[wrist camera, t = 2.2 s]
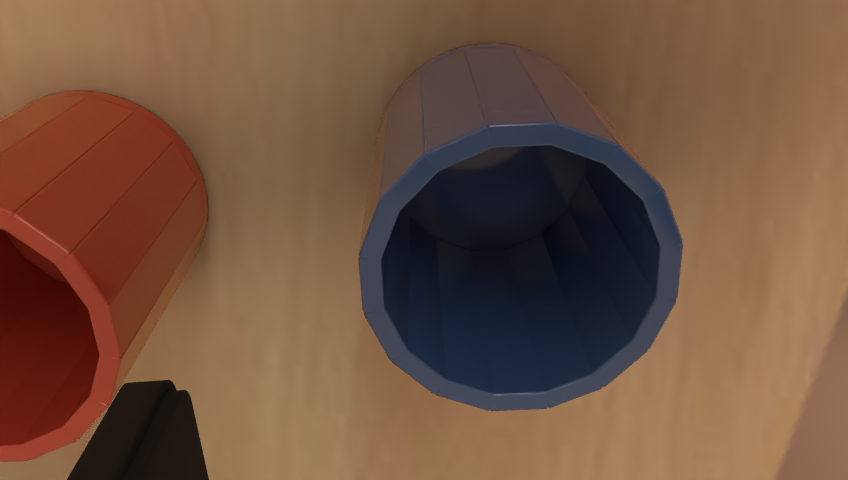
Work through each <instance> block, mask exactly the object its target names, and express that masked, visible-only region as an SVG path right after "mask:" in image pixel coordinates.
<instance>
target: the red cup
mask: <svg viewBox="0 0 848 480" xmlns="http://www.w3.org/2000/svg"><path fill="white" fill-rule="evenodd" d="M207 218H208V201H207V192H206V188H205V183H204V180H203V177H202V174H201V172H200V169H199V166H198V165H197V163H196V161H195V159H194V157H193V155H192V154H191V152H190V151H189V149H188V148H187V146H186V145H185V144H184V142H183V141H182V140H181V139H180V138H179V136H178V135H177V134H176V133H175V132H174V131H173V130H172V129H171V128H170V127H169V126H168V125H166V124H165V123H164V122H163V121H162V120H161V119H159V118H158V117H156V116H155V115H154V114H152V113H151V112H149V111H148V110H146V109H144V108H142V107H140V106H138V105H137V104H135V103H132V102H130V101H127V100H125V99H122V98H120V97H116V96H112V95H109V94H105V93H98V92H91V91H70V92H61V93H56V94H52V95H48V96H45V97H43V98H40V99H38V100H35V101H33V102H31V103H29V104H28V105H26V106H24V107H23V108H21V109H19V110H17V111H15V112H13V113H11V114H9V115H7V116H5V117H3V118H1V119H0V462H13V461H28V460H32V459H34V458H37V457H39V456H42V455H44V454H46V453H49V452H51V451H54V450H56V449H58V448H61V447H63V446H66V445H68V444H70V443H73V442H75V441H76V440H78V439H80V437H81V436H82V435H83V434H84V433H85V432H86V431H87V430H88V429H89V428H90V427H91V425H92V424H93V423H94V422H95V421H96V420H97V419H98V418H99V417H100V416H101V414H102V413H103V412H104V411H105V410H106V409H107V408H108V407H109V405H110V404H111V402H112V400H113V398H114V397H115V395H116V393H117V392H118V390H119V388H120V386H121V385H122V383H123V381H124V379H125V378H126V376H127V374H128V373H129V371H130V369H131V367H132V366H133V364H134V362H135V360H136V359H137V357H138V355H139V354H140V352H141V350H142V348H143V347H144V345H145V343H146V341H147V340H148V338H149V336H150V334H151V333H152V331H153V329H154V328H155V326H156V324H157V322H158V321H159V319H160V317H161V315H162V314H163V312H164V310H165V309H166V307H167V305H168V303H169V302H170V300H171V298H172V296H173V295H174V293H175V291H176V290H177V288H178V286H179V284H180V283H181V281H182V279H183V277H184V276H185V274H186V272H187V270H188V269H189V267H190V265H191V264H192V262H193V260H194V258H195V256H196V252H197V249H198V247H199V246H200V244H201V241H202V238H203V236H204V233H205V229H206V224H207Z"/></svg>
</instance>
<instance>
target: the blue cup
mask: <svg viewBox="0 0 848 480" xmlns="http://www.w3.org/2000/svg"><path fill="white" fill-rule="evenodd" d="M682 249H683V244H682V238H681V235H680V232H679V229H678V226H677V224H676V221H675V218H674V215H673V212H672V210H671V207H670V204H669V201H668V199H667V196H666V193H665V190H664V189H663V188H662V185H661V184H660V183H659V182H658V180H657V179H656V178H655V177H654V176H653V174H652V173H651V172H650V171H649V170H648V168H647V167H646V166H645V165H644V164H643V162H642V161H641V160H640V159H639V157H638V156H637V155H636V154H635V153H634V151H633V150H632V149H631V148H630V147H629V145H628V144H627V143H626V142H625V140H624V139H623V138H622V137H621V136H620V134H619V133H618V132H617V131H616V130H615V128H614V127H613V126H612V125H611V124H610V122H609V121H608V120H607V119H606V117H605V116H604V115H603V114H602V113H601V111H600V110H599V109H598V108H597V107H596V105H595V104H594V103H593V102H592V101H591V99H590V98H589V97H588V96H587V94H586V93H585V92H584V91H583V90H582V89H581V88H580V87H579V86H578V85H577V84H576V83H575V82H574V81H573V80H572V79H571V78H570V77H569V76H568V75H567V74H566V73H565V72H564V71H563V70H562V69H561V68H559V67H558V66H557V65H556V64H554V63H553V62H551V61H550V60H548V59H547V58H545V57H543V56H541V55H539V54H537V53H535V52H533V51H530V50H527V49H524V48H521V47H517V46H513V45H506V44H495V43H483V44H474V45H468V46H464V47H460V48H456V49H453V50H450V51H448V52H445V53H443V54H440V55H439V56H437V57H435V58H433V59H431V60H430V61H428V62H426V63H425V64H424V65H422V66H421V67H420V68H418V69H417V70H415V71H414V72H413V73H412V74H411V75H410V76H409V77H408V78H407V79H406V80H405V81H404V82H403V84H402V85H401V86H400V87H399V89H398V90H397V91H396V92H395V94H394V96H393V97H392V99H391V101H390V102H389V104H388V106H387V108H386V110H385V113H384V115H383V117H382V121H381V124H380V128H379V131H378V136H377V138H376V141H375V145H374V152H373V159H372V166H371V173H370V180H369V187H368V194H367V201H366V208H365V215H364V222H363V229H362V236H361V243H360V250H359V258H358V261H359V273H360V285H361V297H362V309H363V312H364V316H365V317H366V319H367V321H368V323H369V324H370V326H371V328H372V330H373V331H374V333H375V335H376V337H377V338H378V340H379V342H380V344H381V345H382V347H383V349H384V351H385V352H386V354H387V356H388V358H389V359H390V360H391V361H392V363H394V364H395V365H396V366H398V367H399V368H400V369H402V370H403V371H404V372H406V373H407V374H408V375H410V376H411V377H412V378H413V379H415V380H416V381H417V382H419V383H420V384H421V385H423V386H424V387H425V388H427V389H428V390H429V391H431V392H432V393H433V394H436V395H437V396H440V397H444V398H447V399H451V400H454V401H457V402H461V403H464V404H467V405H471V406H474V407H477V408H481V409H484V410H491V411H505V410H529V409H547V408H548V407H549V408H551V407H554V406H557V405H559V404H562V403H565V402H567V401H570V400H572V399H575V398H578V397H580V396H583V395H586V394H588V393H591V392H594V391H596V390H599V389H601V388H603V387H605V386H606V385H608V384H609V383H610V382H611V381H612V380H614V379H615V378H616V377H617V376H618V375H620V374H621V373H622V372H623V371H624V370H626V369H627V368H628V367H629V366H630V365H632V364H633V363H634V362H635V361H636V360H638V359H639V358H640V357H641V356H642V355H644V354H645V353H646V352H647V351H648V349H650V347H651V345H652V344H653V342H654V340H655V338H656V337H657V335H658V333H659V331H660V329H661V328H662V326H663V324H664V322H665V321H666V319H667V317H668V315H669V313H670V312H671V310H672V308H673V306H674V305H675V303H676V299H677V297H678V288H679V278H680V268H681V259H682Z"/></svg>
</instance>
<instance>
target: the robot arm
mask: <svg viewBox="0 0 848 480" xmlns="http://www.w3.org/2000/svg"><path fill="white" fill-rule="evenodd" d="M67 480H209V478H208V474H207V469H206V465H205V460H204V455H203V451H202V446H201V442H200V437H199V433H198V428H197V424H196V419H195V415H194V410H193V405H192V401H191V398H190V395H189V393H188V391H186V390H180V391H177V390H176V387H175V385H174V384H173V382H172V381H170V380H162V381H148V382H133V383H126V384H124V385H123V386H122V387H121V389H120V390H119V392H118V394H117V395H116V397H115V399H114V401H113V402H112V404H111V406H110V407H109V409H108V411H107V412H106V414H105V416H104V418H103V419H102V421H101V423H100V424H99V426H98V428H97V429H96V431H95V433H94V435H93V436H92V438H91V440H90V441H89V443H88V445H87V446H86V448H85V450H84V452H83V453H82V455H81V457H80V458H79V460H78V462H77V463H76V465H75V467H74V469H73V470H72V472H71V474H70V475H69V477H68V479H67Z"/></svg>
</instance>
